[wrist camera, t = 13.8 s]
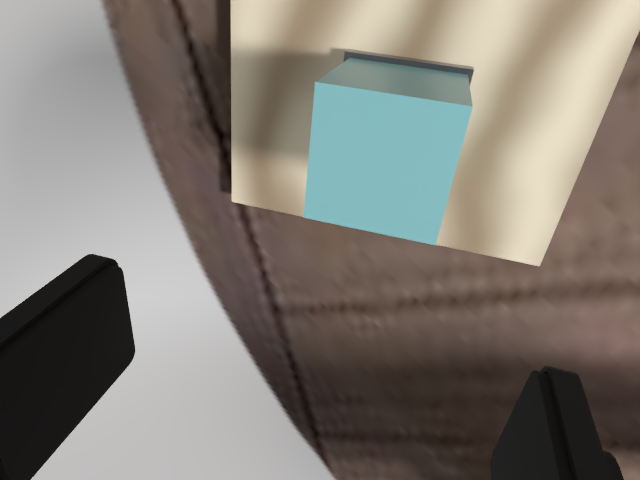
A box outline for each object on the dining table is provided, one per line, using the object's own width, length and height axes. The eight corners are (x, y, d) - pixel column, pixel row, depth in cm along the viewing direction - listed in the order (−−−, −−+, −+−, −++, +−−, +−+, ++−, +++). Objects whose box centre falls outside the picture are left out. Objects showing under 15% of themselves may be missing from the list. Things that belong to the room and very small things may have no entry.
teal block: (467, 74, 24) (473, 106, 18) (439, 185, 28) (435, 245, 21) (349, 57, 26) (315, 81, 19) (336, 165, 29) (303, 217, 23)
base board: (643, -8, 23) (655, -8, 22) (536, 254, 31) (539, 266, 30) (240, -51, 27) (230, -53, 25) (239, 193, 35) (231, 201, 34)
